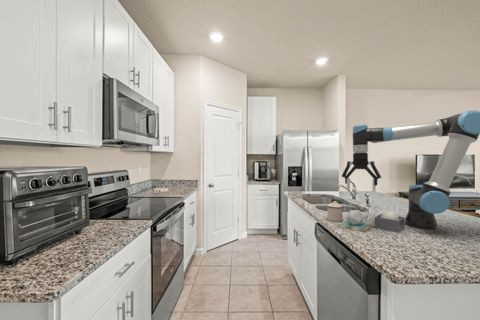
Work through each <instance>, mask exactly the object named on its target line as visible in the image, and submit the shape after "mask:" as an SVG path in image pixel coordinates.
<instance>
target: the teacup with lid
mask: <svg viewBox="0 0 480 320" xmlns="http://www.w3.org/2000/svg"><path fill="white" fill-rule="evenodd" d="M326 208H327V209H326V210H327V221H329V222H333V223H335V222H336V223H342V222H343V208H344V206H343V205H342V204H340V203H339V202H338V201H336V200H335V201H333V202H331V203H328V204H327V205H326Z"/></svg>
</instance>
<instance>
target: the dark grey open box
mask: <svg viewBox="0 0 480 320" xmlns="http://www.w3.org/2000/svg"><path fill="white" fill-rule="evenodd" d="M381 215H382V213H379V214H378V215H376V216H374V229H378V230H383V231H387V232H388V231H389V232H394V233H399V234H400V232H401V231H403V230H405V218H406V216H398V217H399V220H398V221H397V220H391V219H385V218H380V217H381Z"/></svg>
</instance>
